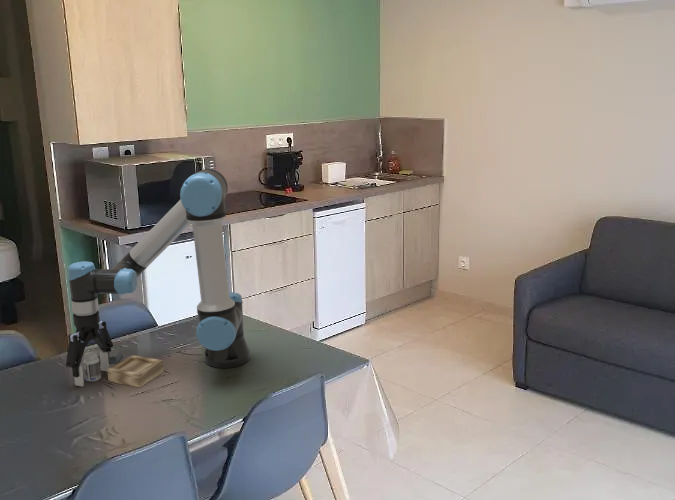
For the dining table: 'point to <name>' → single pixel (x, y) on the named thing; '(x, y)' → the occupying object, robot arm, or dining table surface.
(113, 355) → the black tin
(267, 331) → the dining table surface
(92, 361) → the pill bottle
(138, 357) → the stand
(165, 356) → the dining table surface
